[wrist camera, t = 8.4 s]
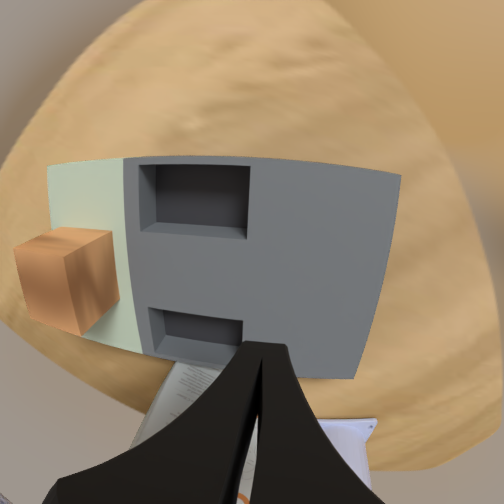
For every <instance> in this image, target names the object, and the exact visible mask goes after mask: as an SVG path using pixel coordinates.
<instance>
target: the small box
mask: <svg viewBox="0 0 504 504" xmlns="http://www.w3.org/2000/svg"><path fill="white" fill-rule="evenodd" d="M222 371H223V369H218V368H211V367H205V366H199V365H193V364H188V363H183V362H177V361H175V363H174V365H173V366H172V368H171V370H170V371H169V373H168V375H167V376H166V378H165V380H164V381H163V383H162V385H161V387H160V389H159V390H158V392H157V394H156V396H155V398H154V400H153V402H152V404H151V406H150V408H149V410H148V412H147V414H146V416H145V418H144V420H143V422H142V424H141V426H140V428H139V430H138V432H137V434H136V436H135V438H134V440H133V442H132V444H131V446H130V448H129V450H130V449H132V448H134V447H135V446H137V445H139V444H140V443H142V442H144V441H145V440H147V439H148V438H150V437H151V436H153V435H154V434H155V433H157V432H158V431H160V430H161V429H163V428H164V427H165V426H167V425H168V424H169V423H171V422H172V421H173V420H174V419H175V418H177V417H178V416H179V415H180V414H181V413H183V412H184V411H185V410H186V409H187V408H188V407H189V406H190V405H191V404H193V403H194V402H195V401H196V400H197V399H198V397H199V396H200V395H201V394H202V393H203V392H204V391H205V390H206V389H207V388H208V387H209V386H210V385H211V384H212V383H213V382H214V380H215V379H216V378H217V377H218V376H219V374H220V373H221V372H222ZM257 424H258V415H257V419H256V423H255V427H254V431H253V435H252V439H251V442H250V446H249V450H248V454H247V457H246V461H245V464H244V468H243V472H242V476H241V481H240V486H239V492H238V498H237V504H249V501H250V495H251V489H252V483H253V477H254V471H255V464H256V455H257Z"/></svg>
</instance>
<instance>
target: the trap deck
mask: <svg viewBox="0 0 504 504" xmlns="http://www.w3.org/2000/svg"><path fill="white" fill-rule="evenodd" d="M47 177H48V196H49V208H50V218H51V227H52V230H54V229H56V228H59V227H73V228H85V229H97V230H109V231H112V234H113V246H114V256H115V265H116V273H117V281H118V288H119V295H120V299H119V300H118V301H117V302H116V303H115V304H114V305H113V306H112V307H111V308H110V309H109V310H108V311H107V312H106V313H105V314H104V315H103V316H102V317H101V318H100V319H99V320H98V321H97V322H96V323H95V324H94V325H93V326H92V327H91V328H90V329H89V330H88V331H87V332H86V333H85V334H84V335H83V336H82V337H83V338H86V339H89V340H93V341H96V342H99V343H103V344H106V345H110V346H113V347H117V348H121V349H125V350H129V351H133V352H137V353H141V354H145V355H149V356H154V357H158V358H163V359H167V360H172V361H177V362H183V363H188V364H193V365H199V366H205V367H211V368H218V369H224V368H225V367H226V366H227V364H228V363H229V362H230V360H231V359H232V357H233V356H234V354H235V353H236V351H237V350H238V348H239V346H240V345H241V343H242V342H243V341H245V340H247V341H258V342H269V343H282V344H286V346H287V347H288V351H289V356H290V359H291V363H292V366H293V369H294V372H295V374H296V377H302V378H323V379H354V376H355V374H356V371H357V368H358V365H359V362H360V360H361V357H362V354H363V351H364V348H365V344H366V341H367V338H368V335H369V332H370V328H371V325H372V322H373V318H374V315H375V311H376V307H377V304H378V300H379V296H380V292H381V288H382V284H383V280H384V275H385V271H386V266H387V262H388V257H389V252H390V247H391V242H392V236H393V231H394V225H395V219H396V212H397V206H398V198H399V191H400V182H401V175H398V174H394V173H389V172H384V171H377V170H371V169H365V168H358V167H351V166H343V165H335V164H327V163H318V162H308V161H298V160H286V159H272V158H256V157H234V156H150V157H128V158H113V159H100V160H89V161H79V162H70V163H63V164H56V165H49V166H47Z"/></svg>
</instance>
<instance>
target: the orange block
mask: <svg viewBox="0 0 504 504" xmlns="http://www.w3.org/2000/svg"><path fill="white" fill-rule="evenodd" d="M13 250H14V255H15V260H16V265H17V270H18V274H19V278H20V282H21V286H22V290H23V294H24V298H25V301H26V305H27V308H28V311H29V314H30V318H31V319H34V320H36V321H39V322H41V323H44V324H47V325H49V326H52V327H55V328H57V329H60V330H63V331H66V332H69V333H71V334H74V335H77V336H80V337H82V336H83V335H84V334H85V333H86V332H87V331H88V330H89V329H90V328H91V327H92V326H93V325H94V324H95V323H96V322H97V321H98V320H99V319H100V318H101V317H102V316H103V315H104V314H105V313H106V312H107V311H108V310H109V309H110V308H111V307H112V306H113V305H114V304H115V303H116V302H117V301H118V300H119V299H120V295H119V288H118V281H117V273H116V265H115V256H114V246H113V234H112V231H109V230H97V229H85V228H73V227H59V228H56V229H54V230H52V231H49V232H47V233H45V234H42V235H40V236H38V237H36V238H34V239H31V240H29V241H27V242H25V243H23V244H21V245H19V246H17V247H14V248H13Z"/></svg>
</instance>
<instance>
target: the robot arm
mask: <svg viewBox="0 0 504 504" xmlns="http://www.w3.org/2000/svg"><path fill="white" fill-rule="evenodd" d="M257 415H258V424H257V455H256V464H255V471H254V477H253V483H252V489H251V495H250V501H249V504H385V503H384V502H383V501H382V500H380V498H378V497H377V496H376V495H375V494H374V493H373V492H372V488H371V481H370V473H369V466H368V460H367V454H366V447H365V443H366V441H367V439H368V438H369V436H370V434H371V433H372V431H373V430H374V428H375V426H376V424H377V419H376V418H367V419H316V417H315V415H314V413H313V412H312V410H311V408H310V406H309V404H308V402H307V400H306V398H305V396H304V393H303V391H302V389H301V387H300V384H299V382H298V380H297V377H296V374H295V372H294V369H293V366H292V363H291V359H290V356H289V351H288V347H287V346H286V344H282V343H269V342H258V341H247V340H245V341H243V342H242V343H241V345H240V346H239V348H238V350H237V351H236V353H235V354H234V356H233V357H232V359H231V360H230V362H229V363H228V364H227V366H226V367H225V368H224V369H223V371H222V372H221V373H220V374H219V376H218V377H217V378H216V379H215V380H214V382H213V383H212V384H211V385H210V386H209V387H208V388H207V389H206V390H205V391H204V392H203V393H202V394H201V395H200V396H199V397H198V399H197V400H196V401H195V402H194V403H193V404H191V405H190V406H189V407H188V408H187V409H186V410H185V411H184V412H183V413H181V414H180V415H179V416H178V417H177V418H175V419H174V420H173V421H172V422H171V423H169V424H168V425H167V426H165V427H164V428H163V429H161V430H160V431H158V432H157V433H155V434H154V435H153V436H151V437H150V438H148V439H147V440H145V441H144V442H142V443H140V444H139V445H137V446H135V447H134V448H132V449H130V450H128V451H126V452H124V453H122V454H120V455H118V456H117V457H114V458H112V459H110V460H109V461H106V462H104V463H102V464H100V465H97V466H94V467H92V468H89V469H87V470H84V471H81V472H78V473H75V474H72V475H69V476H66V477H63V478H59V479H58V480H57V482H56V483H55V484H54V486H53V487H52V488H51V489H50V491H49V492H48V494H47V496H46V498H45V499H44V501H43V503H42V504H237V498H238V492H239V486H240V481H241V476H242V472H243V468H244V464H245V461H246V457H247V454H248V450H249V446H250V442H251V439H252V435H253V431H254V427H255V423H256V419H257ZM0 504H12V503H11V502H10V501H9V500H8V499H6V498H5V497H4V496H3V495H2V494H1V493H0Z"/></svg>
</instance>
